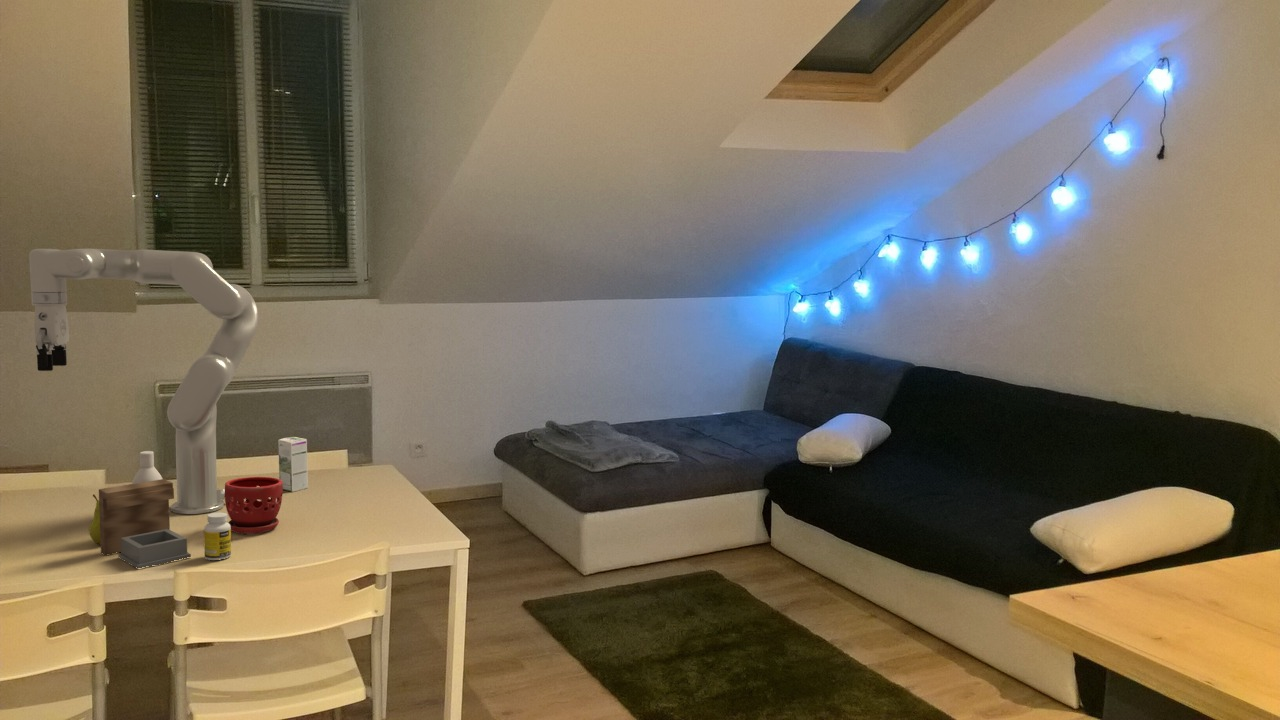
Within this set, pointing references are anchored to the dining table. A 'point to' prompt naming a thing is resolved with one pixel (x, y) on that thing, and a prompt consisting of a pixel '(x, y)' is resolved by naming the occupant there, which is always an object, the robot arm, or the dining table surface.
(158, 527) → the wooden block
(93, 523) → the fruit
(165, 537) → the socket
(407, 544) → the dining table surface
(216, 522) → the supplement bottle
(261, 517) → the plant pot
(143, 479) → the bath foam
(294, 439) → the syrup box
